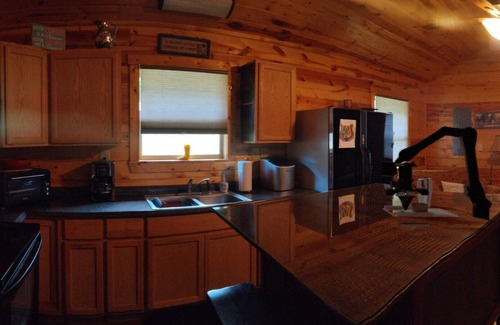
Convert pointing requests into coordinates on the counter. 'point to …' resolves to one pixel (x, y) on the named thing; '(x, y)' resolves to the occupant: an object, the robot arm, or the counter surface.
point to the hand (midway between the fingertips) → (405, 210)
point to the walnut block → (419, 207)
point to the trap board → (419, 214)
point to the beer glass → (428, 185)
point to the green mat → (413, 224)
